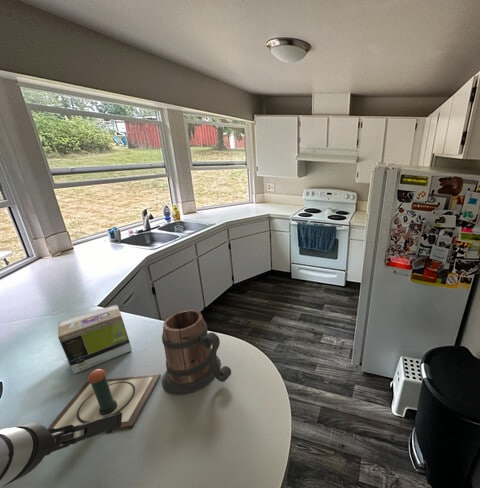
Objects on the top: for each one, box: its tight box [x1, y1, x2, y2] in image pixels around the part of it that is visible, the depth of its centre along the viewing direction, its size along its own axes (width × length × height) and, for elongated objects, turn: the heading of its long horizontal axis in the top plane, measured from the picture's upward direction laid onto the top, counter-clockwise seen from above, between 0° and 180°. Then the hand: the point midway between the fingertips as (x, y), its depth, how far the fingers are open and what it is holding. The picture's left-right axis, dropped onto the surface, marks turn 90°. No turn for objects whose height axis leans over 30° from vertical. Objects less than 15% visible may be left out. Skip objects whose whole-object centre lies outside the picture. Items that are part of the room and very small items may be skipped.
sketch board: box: [46, 373, 161, 434], centre depth 69 cm, size 20×16×1 cm
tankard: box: [161, 309, 232, 396], centre depth 76 cm, size 24×17×20 cm
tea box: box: [57, 304, 133, 375], centre depth 83 cm, size 15×10×15 cm, turn 134°
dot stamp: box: [87, 368, 117, 415], centre depth 64 cm, size 4×4×13 cm
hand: (80, 429), depth 55 cm, fingers open, 13 cm apart
